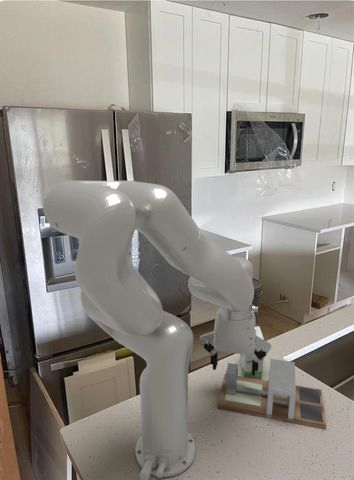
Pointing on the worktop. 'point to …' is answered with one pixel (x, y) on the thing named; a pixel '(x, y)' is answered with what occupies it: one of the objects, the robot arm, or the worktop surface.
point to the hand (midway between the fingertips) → (234, 369)
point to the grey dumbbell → (232, 388)
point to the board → (305, 409)
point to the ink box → (247, 360)
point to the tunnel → (282, 384)
